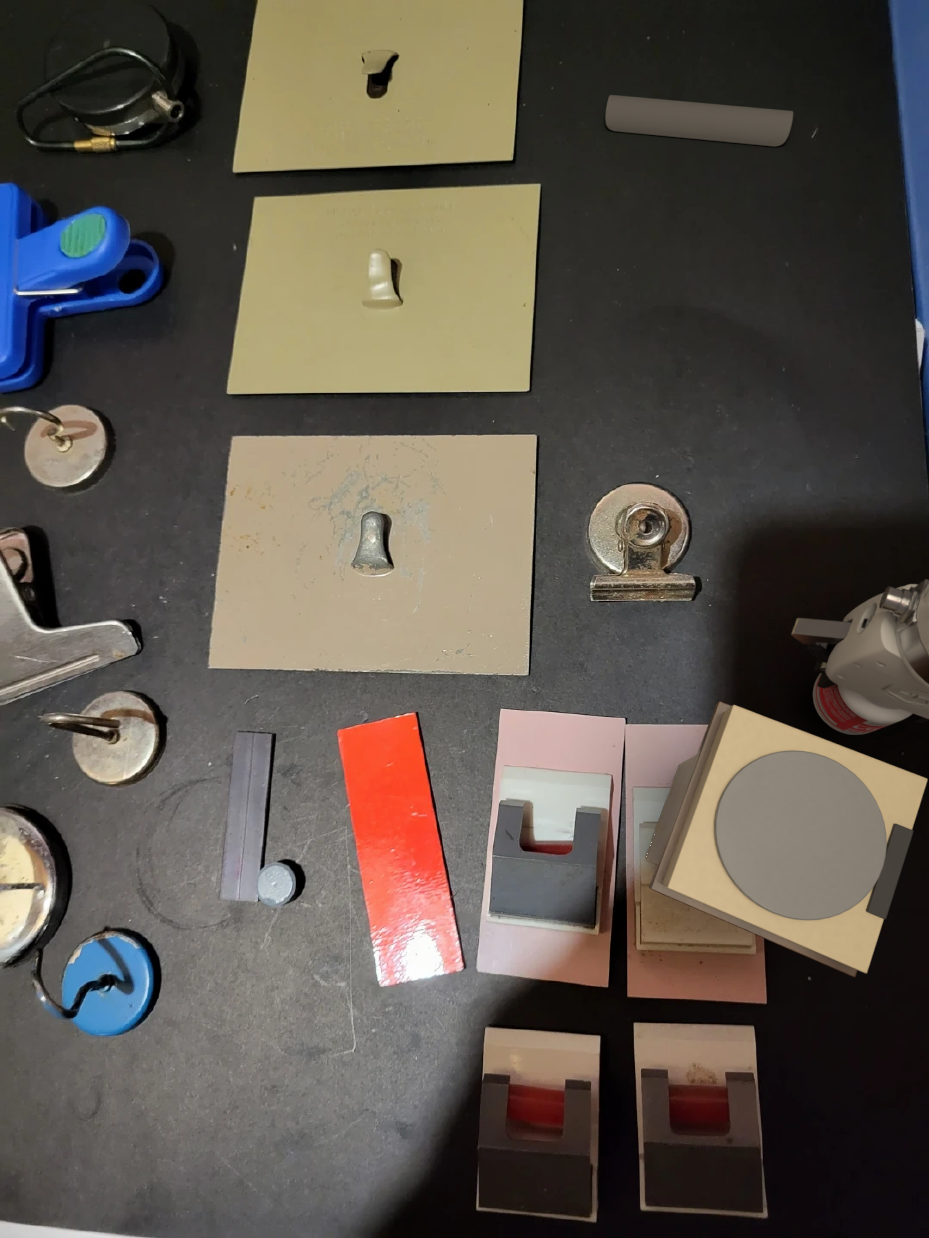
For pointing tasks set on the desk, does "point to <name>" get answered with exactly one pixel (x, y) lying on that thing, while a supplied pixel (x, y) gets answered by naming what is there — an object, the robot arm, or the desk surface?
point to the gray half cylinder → (698, 120)
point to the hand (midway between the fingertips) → (874, 685)
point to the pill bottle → (853, 710)
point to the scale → (797, 836)
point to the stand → (671, 830)
